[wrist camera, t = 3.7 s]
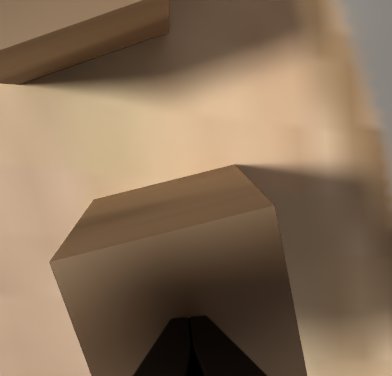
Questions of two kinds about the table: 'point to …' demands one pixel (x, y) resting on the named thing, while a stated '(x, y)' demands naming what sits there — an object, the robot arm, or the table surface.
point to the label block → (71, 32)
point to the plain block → (179, 272)
